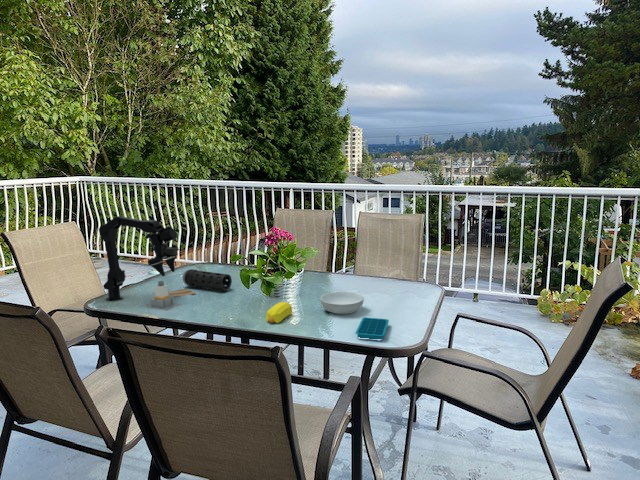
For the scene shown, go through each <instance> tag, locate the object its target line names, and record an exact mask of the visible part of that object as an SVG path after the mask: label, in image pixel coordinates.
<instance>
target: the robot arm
mask: <svg viewBox="0 0 640 480" xmlns="http://www.w3.org/2000/svg"><path fill="white" fill-rule="evenodd" d="M122 226H125V227H129V228H135V229H138V230H141V231H142V232H144V233H146V236H145V239H146V240H148V239H149V240H150V243H151V246H152V248H151V251H152V252H153V251H154V253H155V254H154V255H155V256H154V257H152V258H150V259H148V260H147V264H148V266H150V267H152V268H153V269H154V270H156V271H157V272H158V273H159V274H160V275H161V276H162V277H165V276H166V273H165V270H164V266H163V265H164V262H165V264H166V265H167V266H168V268H169V270H170V271H171V272H172V273H174V272H175V268H176V267H175V260H176V259H177V258H178V255H179V254H178V251H179V250H180V248H179V247H178V245H177V244H172V246H168V245H167V243H168V242H171V241H173V240H177V237H178V233H177V231H176V230H175V229H174V228H173V226H171V225H170V226H166V227H164V226H162V225H161V224H160V222H159V221H158V220H156V219H148V220H145V219H144V220H141V219H137V218H130V217H125V216H122V215H117V216H115V217H113V218H112V219H111V220H109V221H107V222H106V223H105V224H102V225H100V227H99V228H98V233H99V236H100V238H101V239H102V240H103V242H104V245H105V251H106V257H107V264H108V273H107V281H106V282H105V283H104V284H103V285H102V286H103V287H102V288H104V290H107V297H106V298H107V299H106V300H107V301H109V302H112V301H117V300H123V297H122V296H121V290H120V288H121V286H123V284H124V283H125V281H126V278H127V276H126V274H125V273H126V271H125V269H122V268H121V267H120V263H119V255H118V250H117V244H116V239H117V235H118V230H119V229H120V228H121V227H122ZM165 243H166V244H165ZM163 260H164V261H163Z"/></svg>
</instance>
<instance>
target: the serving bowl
mask: <svg viewBox="0 0 640 480" xmlns="http://www.w3.org/2000/svg"><path fill="white" fill-rule="evenodd" d="M364 301H365V297H364V296H363V294H360V293H356V292H352V291H342V290H340V291H332V292H331V291H330V292H327V293H324V294H322V295H321V296H320V304H321V305H322V307H323V308H324V309H325V310H326V311H328V312H330V313H333V314H338V315H347V314H351V313H355V312H357V311H359V310H360V309H361V307H362V306H363V304H364Z"/></svg>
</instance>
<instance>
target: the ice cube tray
mask: <svg viewBox="0 0 640 480" xmlns="http://www.w3.org/2000/svg"><path fill="white" fill-rule="evenodd" d="M389 321H390V320H389V319H387V318H376V317H375V318H374V317H362V318H361V320H360V323H359V324H358V327H357V329H356V331H355V335H357V338H358V337H360V338H369V339H383V340H384V337H385V335H386V332H387V328H388V324H389V323H390V322H389ZM383 336H384V337H383Z"/></svg>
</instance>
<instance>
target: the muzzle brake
mask: <svg viewBox="0 0 640 480" xmlns="http://www.w3.org/2000/svg"><path fill="white" fill-rule="evenodd" d="M182 282H183V283H184V284H185V285H186V286H188V287H189V286H190V287H195V288H196V289H202V288H203V289H204V288H205V289H208V290H212V291H217V292H218V291H219V292H223V293H224V292H225V293H226V292H228V291H229V290H230V288H231V286H232V276H231V275H230V274H229V273H228V274H227V273H220V272H214V271H213V272H211V271H203V270H198V269H192V268H191V269H187V270H185V271H184V272H183V274H182Z"/></svg>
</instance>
